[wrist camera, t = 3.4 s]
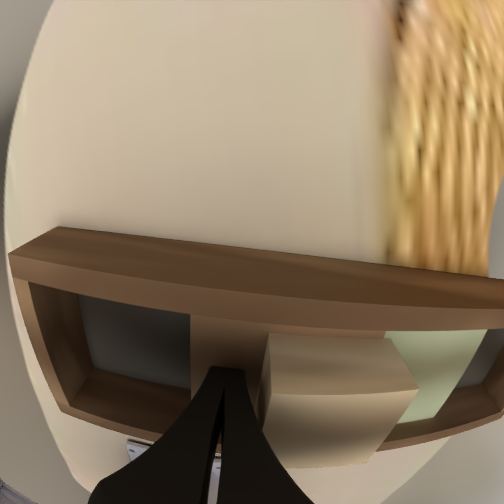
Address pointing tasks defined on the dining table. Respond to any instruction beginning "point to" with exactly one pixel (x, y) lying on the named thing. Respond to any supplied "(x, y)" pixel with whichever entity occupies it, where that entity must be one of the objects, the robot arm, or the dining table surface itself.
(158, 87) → the dining table surface
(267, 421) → the maple block
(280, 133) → the dining table surface
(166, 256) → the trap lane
